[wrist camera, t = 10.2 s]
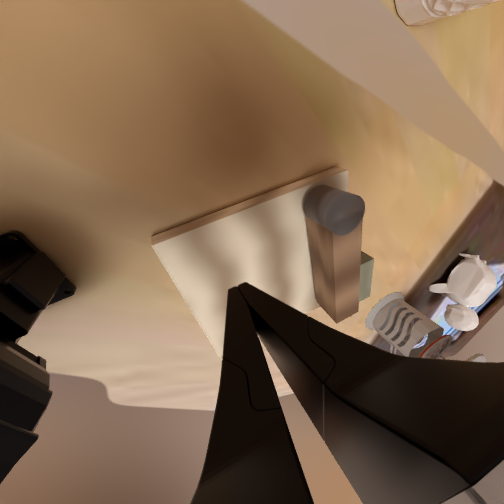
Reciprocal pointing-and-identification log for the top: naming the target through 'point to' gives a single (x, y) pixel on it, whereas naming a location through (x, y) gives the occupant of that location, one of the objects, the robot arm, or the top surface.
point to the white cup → (434, 9)
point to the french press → (393, 317)
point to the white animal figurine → (466, 291)
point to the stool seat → (250, 253)
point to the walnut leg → (335, 248)
